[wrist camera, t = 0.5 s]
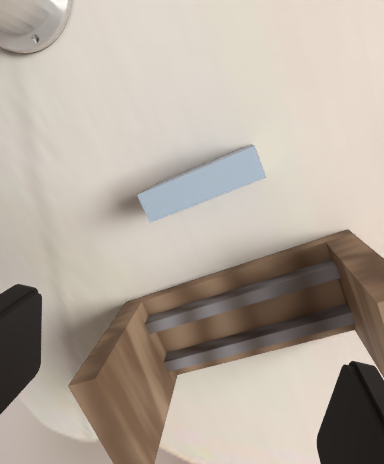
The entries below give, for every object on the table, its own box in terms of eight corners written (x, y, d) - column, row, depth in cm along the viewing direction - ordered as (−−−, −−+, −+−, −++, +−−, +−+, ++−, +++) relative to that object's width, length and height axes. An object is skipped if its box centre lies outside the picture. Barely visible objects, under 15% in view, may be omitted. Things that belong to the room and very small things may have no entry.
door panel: (167, 206, 39) (149, 222, 31) (157, 183, 38) (137, 195, 31) (260, 169, 36) (266, 177, 28) (251, 144, 35) (254, 145, 28)
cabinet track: (160, 372, 46) (124, 481, 31) (125, 302, 43) (68, 386, 29) (375, 316, 39) (458, 424, 24) (348, 229, 36) (422, 290, 22)
